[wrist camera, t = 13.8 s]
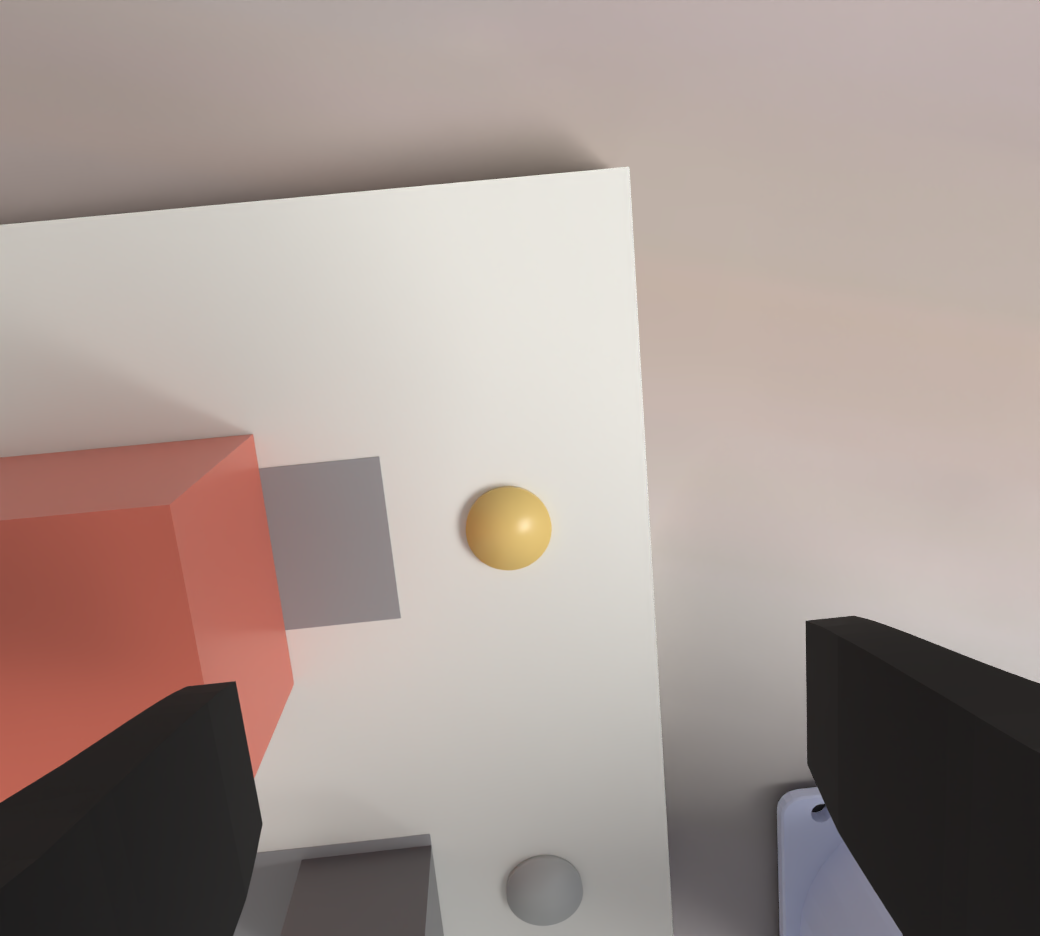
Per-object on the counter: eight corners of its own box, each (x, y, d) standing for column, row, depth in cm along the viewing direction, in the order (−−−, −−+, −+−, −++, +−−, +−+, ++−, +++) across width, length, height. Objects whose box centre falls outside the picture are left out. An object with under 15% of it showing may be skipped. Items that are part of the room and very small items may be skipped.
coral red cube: (253, 434, 18) (170, 504, 13) (294, 684, 19) (232, 831, 15) (-26, 460, 18) (-213, 540, 13) (35, 709, 19) (-114, 865, 14)
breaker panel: (617, 172, 19) (660, 150, 14) (664, 963, 24) (708, 1126, 19) (-109, 239, 18) (-294, 239, 14) (95, 1027, 23) (7, 1209, 19)
